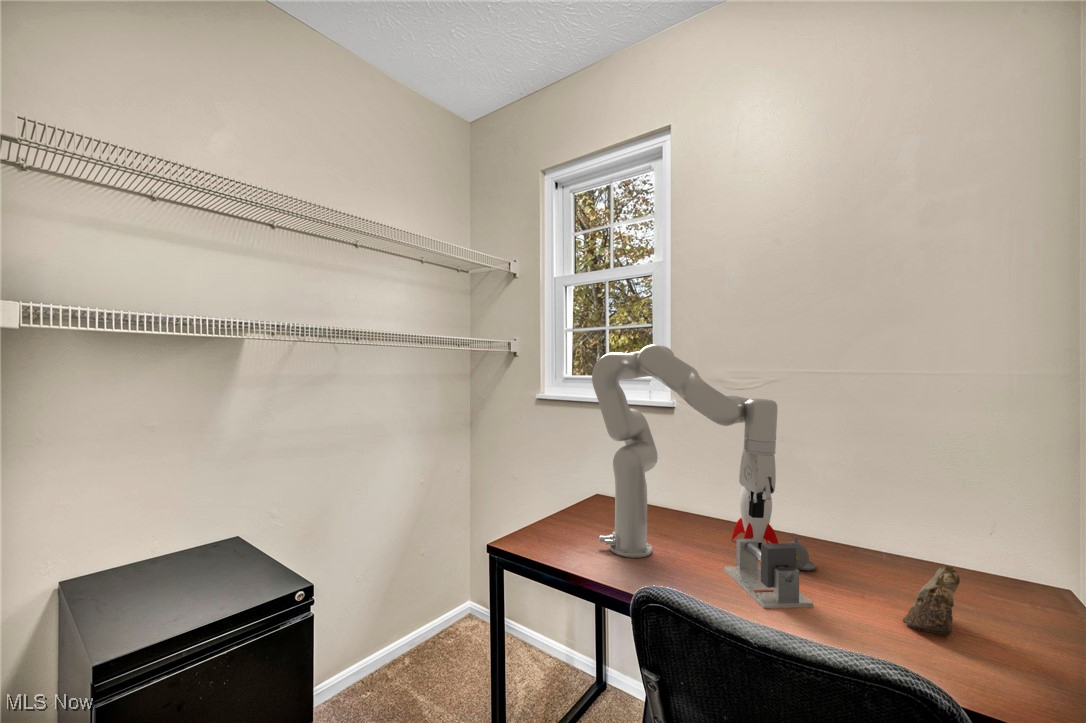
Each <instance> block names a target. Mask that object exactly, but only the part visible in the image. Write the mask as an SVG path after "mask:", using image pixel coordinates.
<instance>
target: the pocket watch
mask: <svg viewBox="0 0 1086 723" xmlns="http://www.w3.org/2000/svg"><path fill="white" fill-rule="evenodd" d="M793 535H795V536H793ZM790 536H791V538H793V539H794V541H789V542H787V543H789V544H790V545H792V546H794V547H795V548H796V569H798V570H802V571H813V570H815V569H816V564H815V563H814V562H812V561H810V556H809V555H810V554H809V552H808V550H807V549H806V547H805V546H804V545H802V544H801V543H799V542H798V541H799V540H801V538H802V537H801V536H800V535H799V534H797V533H791V534H790ZM798 537H799V538H798Z"/></svg>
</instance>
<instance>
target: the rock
mask: <svg viewBox="0 0 1086 723" xmlns="http://www.w3.org/2000/svg"><path fill="white" fill-rule="evenodd" d="M960 583H961V578H960V575H958V573H957V570H956V569H955V568H954V567H952V566H949V565H943V566H941V567H939V568H938V569H937V570H936V572H935V574H934V576H933V577H932V578H930V580H929V581H928V582H927V583H926V584H923V586H922V587H921V588H920V590H919V591H918V594H917V596H916V599H915V602H914V603H913V605H912V606H911V607H910V609H908V612H907V614H906V615H905V616H904V618H902V622H903V623H905V624H907V626H909V627H911V628H914V629H917V630H918V631H921V632H926V633H932V634H940V635H944V636H946V637H947V636H948V637H949V636H951V634H952V633H953V629H954V622H953V620H954V619H953V611H952V610H953V607H955V606H954V603H955V601H954V595H955V593H956V591H957V589H958V588H959V585H960Z"/></svg>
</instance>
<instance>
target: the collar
mask: <svg viewBox="0 0 1086 723" xmlns="http://www.w3.org/2000/svg"><path fill="white" fill-rule="evenodd" d="M760 550H761V562H760V566H761V582H762V583H763V584H764V585H765V586H766V587H768V588H773V587H774V567H776V565H782V566H783V567H795V568H796V548H795V547H794V546H792V545H790V544H789V543H788V542H786V543H778V544H772V543H762V544H761V548H760ZM796 569H797V568H796Z"/></svg>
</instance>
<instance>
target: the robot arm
mask: <svg viewBox="0 0 1086 723" xmlns="http://www.w3.org/2000/svg"><path fill="white" fill-rule="evenodd" d="M591 372H592V373H591V382H592V387H593V389H594V392H595V396H596V399H597V401H598V404H599V408H600V409H599V410H600V411H601V414H602V418H603V422H604V424H605V427H606V431H607V434H608V435H609V437H610V439H612V440H613V441H616V442H624V444H625V445H623V446H621V447H620V448H619V449H618V450H617V451H616V452H615V454H614V456H613V460H612V466H613V467H612V468H613V475H614V485H615V486H614V488H615V489H614V494H615V495H614V531H612V533H611V534H609V535H599V536H598V542H599V543H604V544H605V545H607V546H608V545H609V550H610V551H611V552H612V553H613V554H616V555H617V556H621V557H626V558H633V559H634V558H644V557H648V556H650V555H651V554H652V553H653V547H652V545H651V544H650V543H648V541H647V540H648V537H647V536H648V485H647V481H646V480H647V479H646V473H647V472H649V471H650V470H651V471H652V469H653V468H655V466H657V465H656V464H657V462H658V460H659V458H658V452H657V451H658V450H657V447H656V444H655V440H654V438H653V435H652V431H651V429H650V426H649V423H648V420H647V419H646V417H645V416H644V414H643V413H642V412H641V411H639V410H638V409H636V408H630V407H629V402H628V401H627V397H626V394H625V392H624V390H623V388H622V387H621V385H620V380H622V381H623V380H624V381H625V380H633V379H640V378H644V377H645V378H646V377H652V378H654V379H655V380H657V381H658V382H660V383H662V384H663V385H664V386H666V387H668V388H669V389H671V390H672V391H674V393H677V395H679V397H680V398H681V399H683V401H685V403H687V404H688V405H689V406H690V407H691V408H692V409H694V410H695V411H697V412H698V413H700V414H701V415H702V416H704V417H706V419H709V420H710V421H712V422H713V423H715V424H717V425H720V426H723V427H728V426H733V425H735V424H739V423H740V424H741V423H743V424H744V432H743V434H744V437H743V438H744V439H743V450H742V455H741V460H740V466H739V467H740V468H739V476H738V482H739V484H740V485H741V486H742V487H745V488H746V489H747V491H748V498H749V500H751V501H749V516H751V517H752V518H763V517H764V503H765V502H766V500H770V499H771V498H772V494H774V492H775V491H776V481H777V480H776V478H777V477H776V475H777V474H776V471H777V470H776V458H775V455H776V444H777V428H778V427H777V426H778V425H777V423H778V403H777V402H776V401H775V400H774V399H773V400H772V399H767V398H766V399H765V398H746V397H743V396H738V395H725V394H724V393H722V392H720V391H719V390H717V389H715V388H714V387H713V386H711V385H710V384H708V383H707V382H706V381H704V380H703V378H702V377H701V376H700V374H699V372H698V370H696V368H695V367H693V366H691V365H689V364H688V363H687V362H685V361H684V360H682V359H680V358H679V357H677V356H676V355H675V353H674V351H673V350H672V349H670V348H669V347H667V346H665V345H658V344H649V345H646V346H644V347H643V348H641V350H640V351H639V350H637V351H634V352H633V351H632V352H628V353H627V352H609V353H606V354H604V355H602V356H601V357H600V358H599V359H598V360H597V361H596V362H595V364H594V366H593V368H592V371H591Z"/></svg>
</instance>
